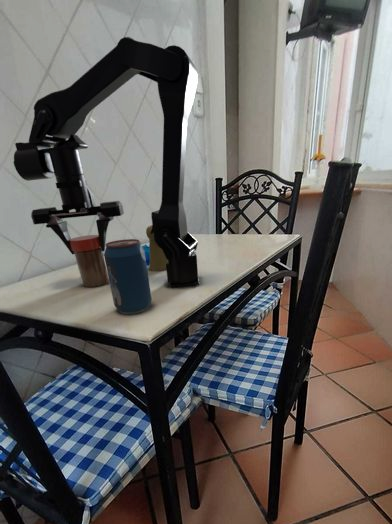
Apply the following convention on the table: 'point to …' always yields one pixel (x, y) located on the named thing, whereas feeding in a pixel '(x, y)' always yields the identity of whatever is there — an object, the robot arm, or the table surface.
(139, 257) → the soda can
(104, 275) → the jar
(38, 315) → the table surface
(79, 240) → the lid
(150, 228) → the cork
